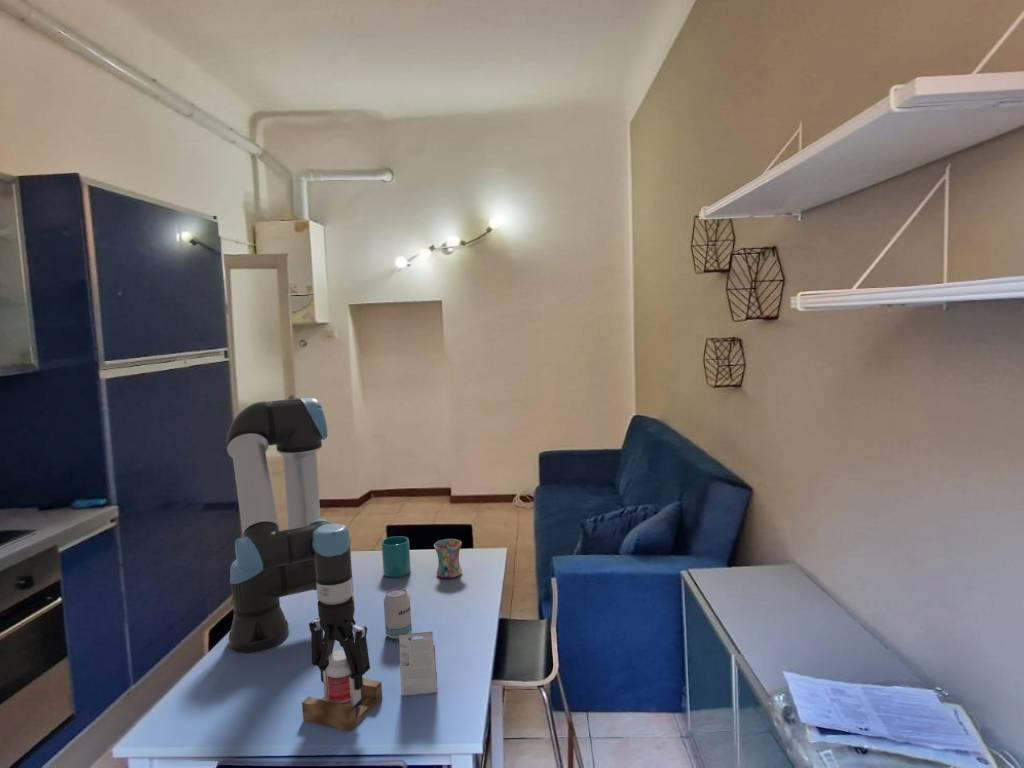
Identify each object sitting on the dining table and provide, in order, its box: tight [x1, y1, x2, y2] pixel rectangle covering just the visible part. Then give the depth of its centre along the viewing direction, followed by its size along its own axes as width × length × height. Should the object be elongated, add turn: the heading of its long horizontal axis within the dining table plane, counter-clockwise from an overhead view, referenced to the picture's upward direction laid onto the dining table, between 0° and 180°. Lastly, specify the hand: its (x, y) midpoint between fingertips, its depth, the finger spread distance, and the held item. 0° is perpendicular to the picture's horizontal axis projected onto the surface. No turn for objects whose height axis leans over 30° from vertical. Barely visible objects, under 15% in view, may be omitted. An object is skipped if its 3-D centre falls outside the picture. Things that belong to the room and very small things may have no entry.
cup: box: [381, 535, 412, 578], centre depth 211 cm, size 9×12×11 cm
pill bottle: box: [326, 649, 353, 707], centre depth 135 cm, size 6×6×11 cm
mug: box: [433, 538, 463, 579], centre depth 205 cm, size 12×9×11 cm
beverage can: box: [383, 587, 413, 640], centre depth 167 cm, size 7×7×12 cm
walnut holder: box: [301, 677, 383, 733], centre depth 136 cm, size 12×12×4 cm
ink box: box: [398, 631, 438, 697], centre depth 141 cm, size 4×8×15 cm, turn 96°
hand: (343, 698), depth 136 cm, fingers closed on pill bottle, 6 cm apart
